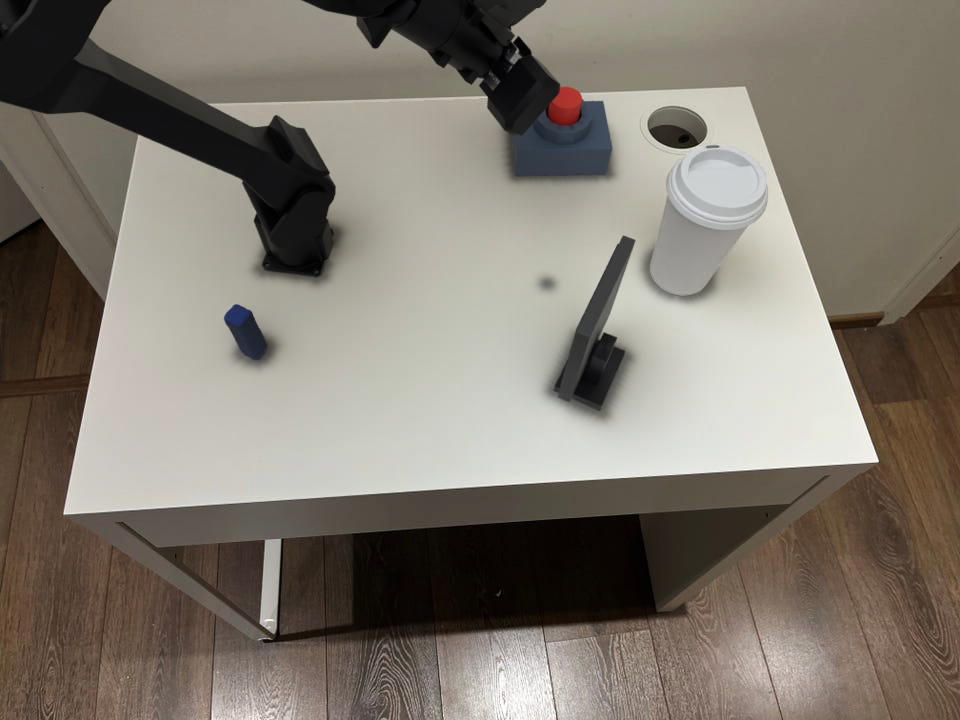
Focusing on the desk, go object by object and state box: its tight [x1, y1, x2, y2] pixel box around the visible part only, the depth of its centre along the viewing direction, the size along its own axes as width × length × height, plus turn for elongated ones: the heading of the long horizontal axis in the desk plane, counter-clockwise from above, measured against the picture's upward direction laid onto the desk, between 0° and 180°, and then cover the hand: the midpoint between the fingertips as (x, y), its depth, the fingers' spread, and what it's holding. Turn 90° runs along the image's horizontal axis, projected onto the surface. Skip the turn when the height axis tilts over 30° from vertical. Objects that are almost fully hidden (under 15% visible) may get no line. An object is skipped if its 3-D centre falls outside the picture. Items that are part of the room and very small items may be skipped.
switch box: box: [510, 98, 613, 177], centre depth 83 cm, size 11×8×6 cm
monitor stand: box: [553, 331, 627, 411], centre depth 68 cm, size 5×7×6 cm
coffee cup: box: [649, 143, 769, 297], centre depth 71 cm, size 10×10×15 cm
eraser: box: [223, 303, 268, 361], centre depth 68 cm, size 2×2×7 cm
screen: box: [557, 234, 636, 403], centre depth 63 cm, size 1×11×12 cm, turn 155°
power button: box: [548, 86, 583, 125], centre depth 80 cm, size 4×4×2 cm
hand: (532, 82), depth 74 cm, fingers closed
